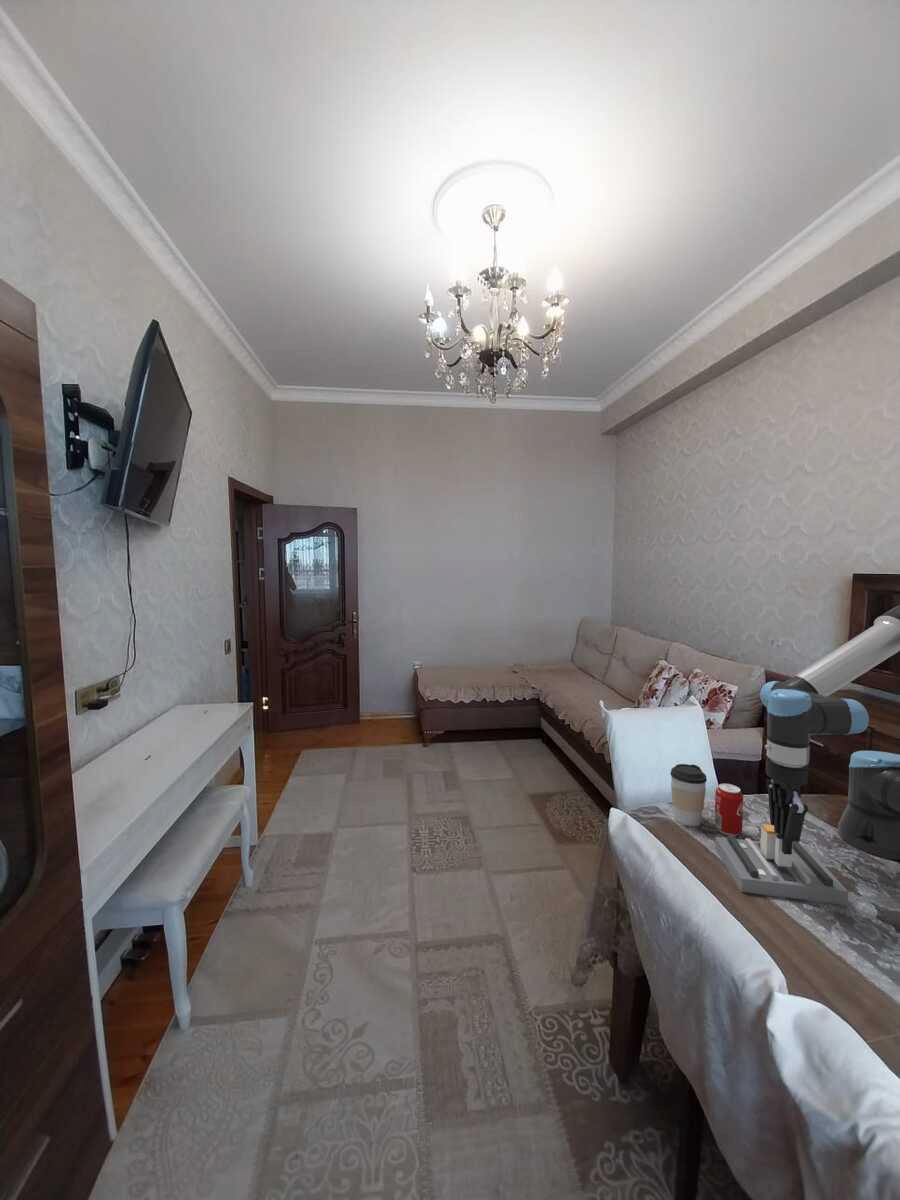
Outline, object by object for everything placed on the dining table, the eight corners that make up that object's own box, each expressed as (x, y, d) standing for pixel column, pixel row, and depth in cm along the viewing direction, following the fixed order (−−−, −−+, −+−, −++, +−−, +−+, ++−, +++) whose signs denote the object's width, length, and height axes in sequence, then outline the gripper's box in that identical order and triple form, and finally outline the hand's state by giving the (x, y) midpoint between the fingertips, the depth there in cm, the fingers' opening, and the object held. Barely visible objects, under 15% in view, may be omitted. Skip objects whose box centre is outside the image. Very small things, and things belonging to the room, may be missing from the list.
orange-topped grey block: (779, 853, 108) (780, 825, 108) (785, 860, 105) (787, 832, 105) (760, 850, 109) (761, 823, 108) (766, 858, 106) (767, 830, 105)
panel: (805, 858, 111) (806, 842, 111) (847, 905, 96) (848, 886, 96) (715, 848, 116) (715, 833, 115) (740, 891, 100) (741, 874, 100)
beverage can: (746, 839, 119) (747, 794, 119) (719, 836, 121) (720, 792, 120) (736, 826, 126) (737, 783, 125) (710, 823, 127) (712, 781, 126)
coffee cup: (689, 831, 123) (691, 777, 122) (662, 815, 131) (663, 764, 130) (713, 824, 127) (714, 771, 126) (684, 808, 135) (685, 758, 134)
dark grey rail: (733, 852, 114) (734, 835, 114) (759, 891, 100) (759, 871, 100) (725, 851, 114) (726, 834, 114) (749, 890, 101) (750, 870, 100)
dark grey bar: (798, 859, 111) (799, 842, 111) (833, 900, 97) (834, 880, 97) (789, 858, 111) (790, 841, 111) (823, 899, 98) (824, 879, 97)
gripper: (754, 748, 108) (751, 845, 110) (782, 772, 96) (778, 881, 97) (790, 750, 107) (787, 849, 108) (824, 775, 94) (819, 886, 95)
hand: (783, 864), depth 103 cm, fingers closed
